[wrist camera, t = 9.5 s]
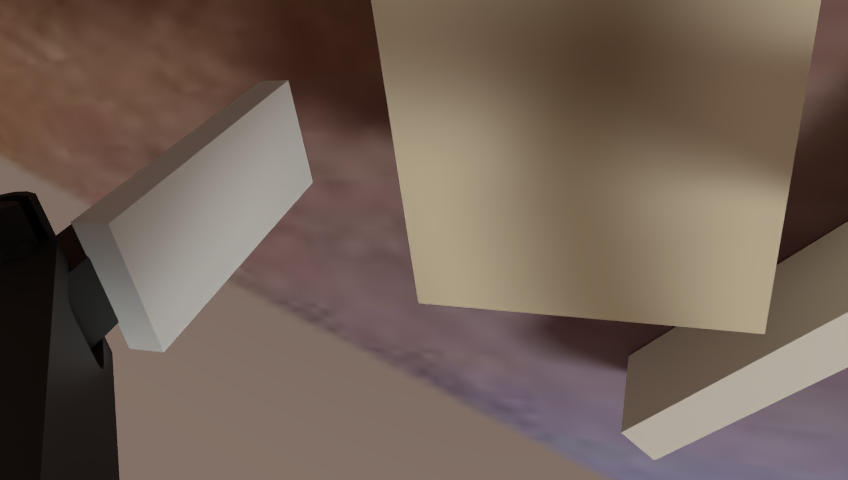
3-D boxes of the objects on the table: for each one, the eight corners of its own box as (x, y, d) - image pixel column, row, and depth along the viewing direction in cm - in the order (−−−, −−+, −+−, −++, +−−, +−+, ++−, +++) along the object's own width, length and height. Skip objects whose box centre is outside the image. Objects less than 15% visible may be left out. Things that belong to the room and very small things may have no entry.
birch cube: (488, 166, 24) (418, 303, 18) (468, -85, 20) (367, -26, 13) (739, 171, 21) (764, 334, 15) (776, -116, 17) (831, -60, 11)
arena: (302, 75, 25) (246, 117, 21) (758, -596, 14) (782, -715, 10) (657, 381, 27) (654, 460, 24) (1289, 22, 16) (1441, 80, 13)
